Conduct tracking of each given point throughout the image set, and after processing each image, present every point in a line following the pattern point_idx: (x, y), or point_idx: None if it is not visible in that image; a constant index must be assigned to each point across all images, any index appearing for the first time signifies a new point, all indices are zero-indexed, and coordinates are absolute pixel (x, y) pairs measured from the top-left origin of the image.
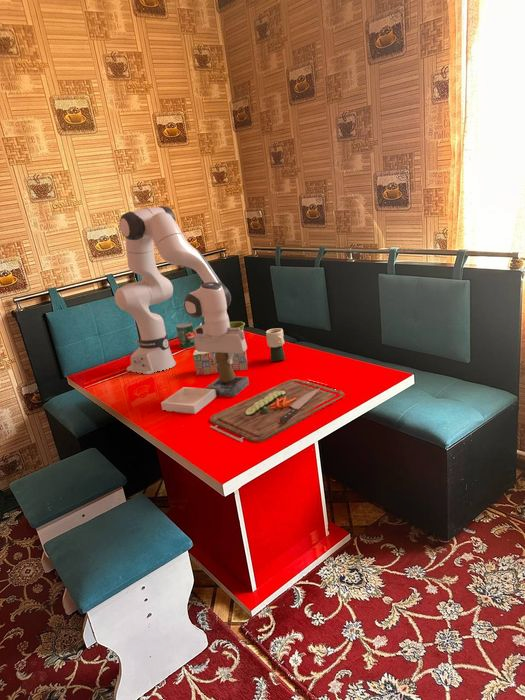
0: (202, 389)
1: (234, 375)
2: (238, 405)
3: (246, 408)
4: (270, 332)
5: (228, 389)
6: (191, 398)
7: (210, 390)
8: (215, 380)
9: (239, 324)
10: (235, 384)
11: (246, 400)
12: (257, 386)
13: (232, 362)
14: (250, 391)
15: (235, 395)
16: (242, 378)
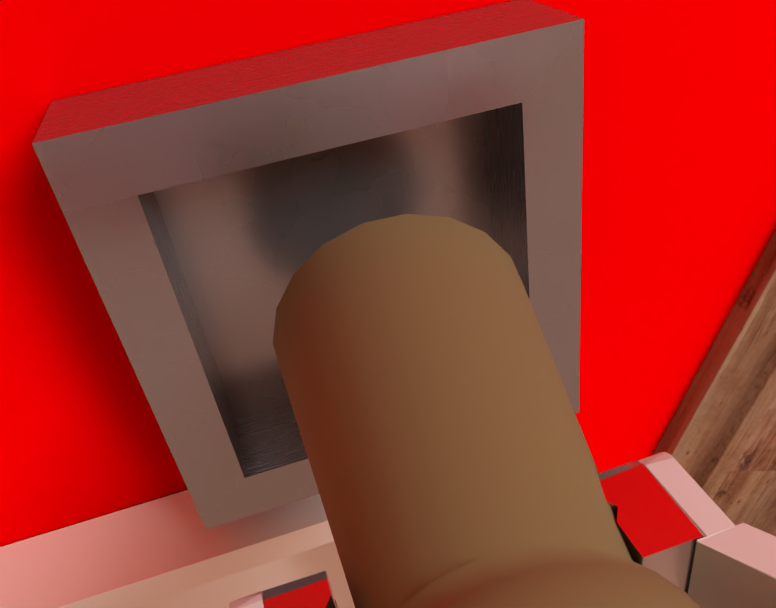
0: (223, 575)
1: (528, 299)
2: (687, 470)
3: (769, 471)
4: None
5: None
6: (153, 604)
7: None
8: (136, 348)
9: None
10: (541, 316)
11: (721, 389)
12: (673, 21)
13: (665, 456)
14: (646, 183)
15: None
16: (527, 113)
